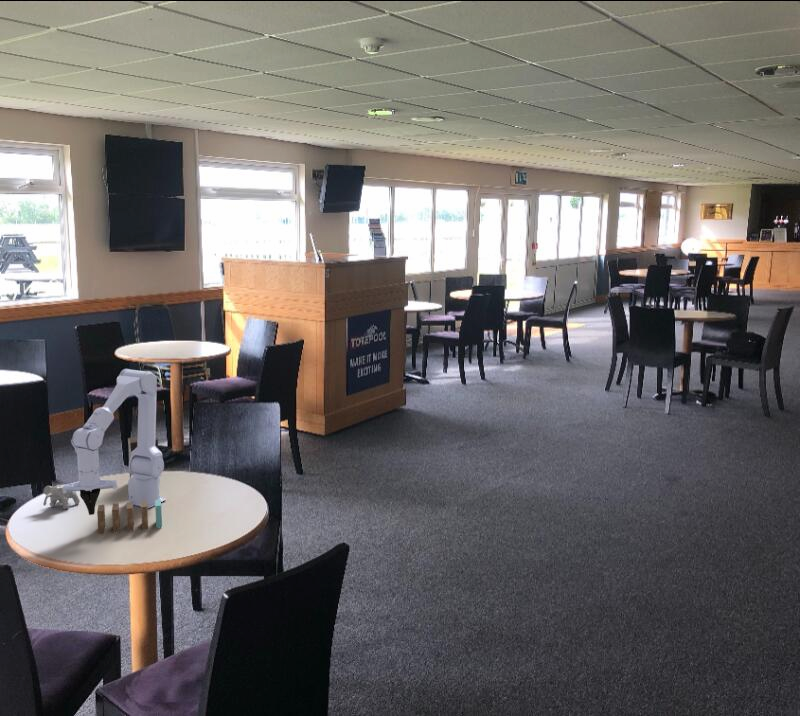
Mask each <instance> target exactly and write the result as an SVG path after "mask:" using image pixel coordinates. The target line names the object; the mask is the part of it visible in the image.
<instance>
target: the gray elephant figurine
mask: <svg viewBox="0 0 800 716" xmlns="http://www.w3.org/2000/svg"><path fill="white" fill-rule="evenodd" d="M65 484H66V483H65ZM65 484H56V485H55V486H51V485H46V486H45V487H44V488H43V494H44V495H45V497H44V501H43V506H44V507H45V506H46V505H47V501H48V498H50V502H49V506H50V507H51V508H54V507H55V505H56V503H57V502H60V503H61V505H62V509H63V510H68V509H70V503H69V502H68V501H69V499H72V501H73V502H74V504H75V505H79V504H80V501H81V500H80V498H79V495H78V494H77V491H74V492H67V493H63V490H62V487H63V485H65Z"/></svg>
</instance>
